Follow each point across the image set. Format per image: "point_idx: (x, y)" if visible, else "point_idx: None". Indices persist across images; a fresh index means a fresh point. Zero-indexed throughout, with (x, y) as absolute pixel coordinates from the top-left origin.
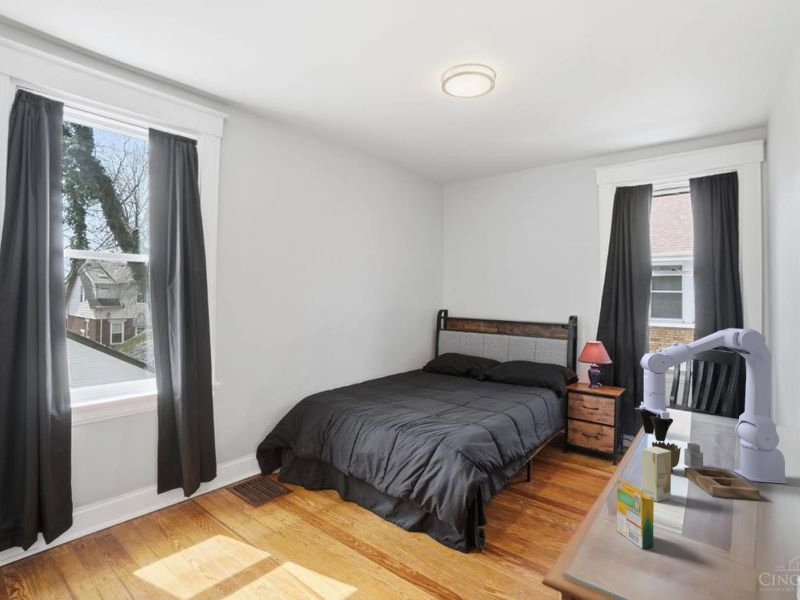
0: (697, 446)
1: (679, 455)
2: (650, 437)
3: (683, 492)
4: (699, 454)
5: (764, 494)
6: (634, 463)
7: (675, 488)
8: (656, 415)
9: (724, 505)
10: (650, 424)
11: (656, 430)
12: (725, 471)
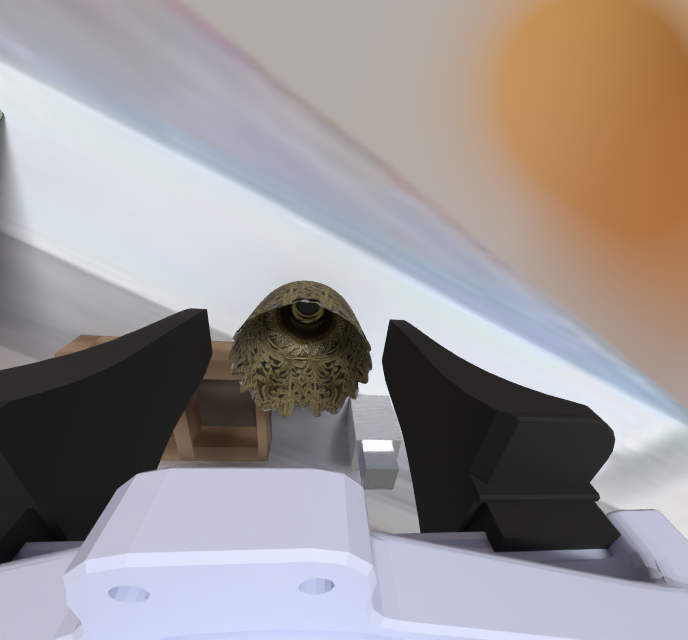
0: (362, 480)
1: (267, 380)
2: (652, 418)
3: (74, 254)
4: (351, 456)
5: (174, 463)
6: (391, 215)
7: (110, 244)
8: (421, 518)
9: (8, 332)
10: (404, 396)
11: (108, 343)
12: (254, 455)
